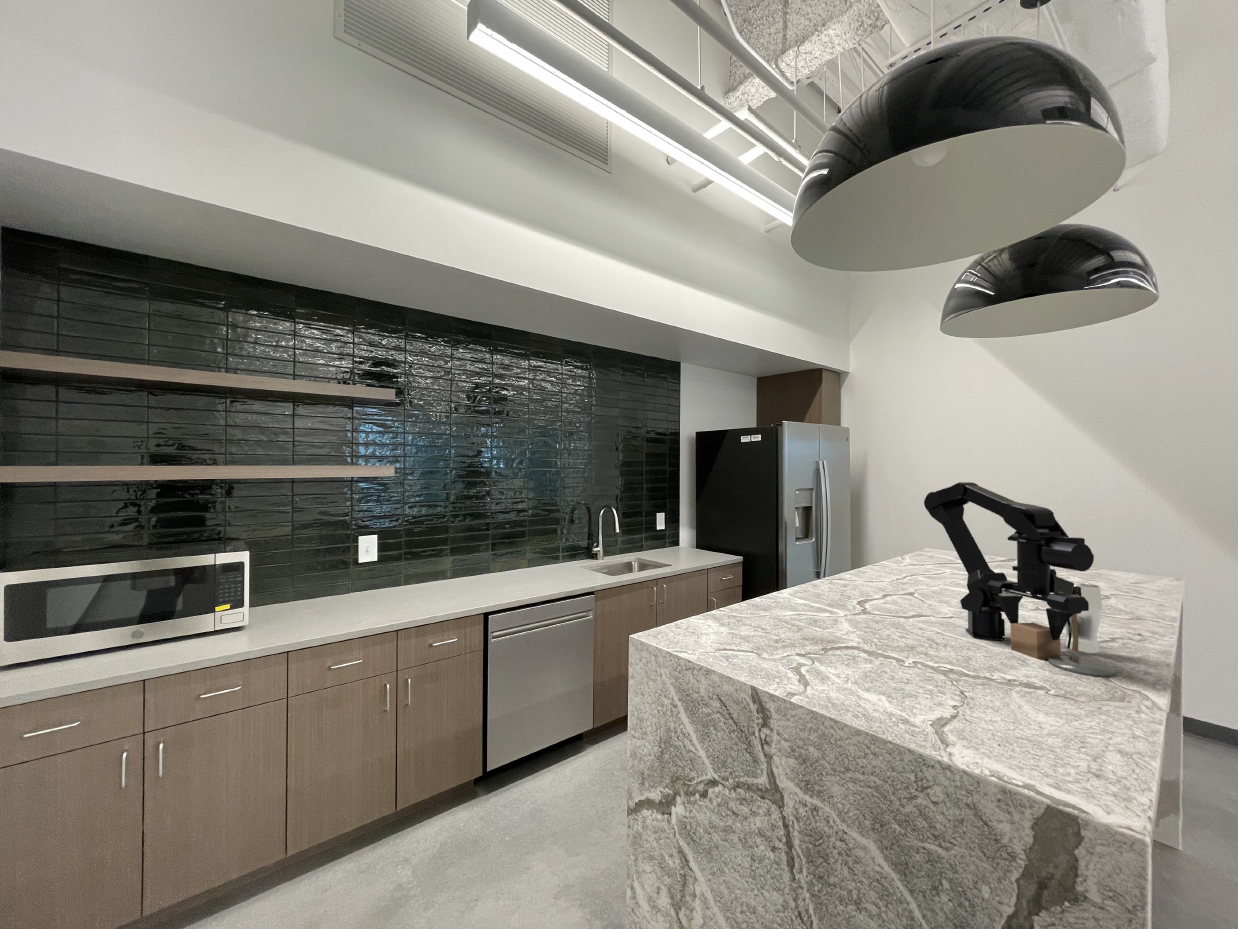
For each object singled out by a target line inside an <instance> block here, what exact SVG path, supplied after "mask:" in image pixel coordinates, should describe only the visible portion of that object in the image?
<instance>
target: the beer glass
mask: <svg viewBox="0 0 1238 929" xmlns="http://www.w3.org/2000/svg"><path fill="white" fill-rule="evenodd" d="M1071 582H1072V583H1074V587H1073V591H1072V594H1073V595H1078V596H1082V597H1085V598H1086V600H1087V601H1088V603H1089V611H1082V612H1081V613H1080V614H1074V615H1073V616H1071V617H1070V619H1069V620H1068V621H1067V623H1066V625H1065V627H1064V628H1065V638H1064V642H1063V648H1064V649H1065V650H1066V651H1069V652H1072V653H1076V654H1079V655H1080V654H1082V655H1087V656H1098V655H1100V654H1101V650H1100V647H1099V641H1098V632H1099V627H1100V623H1101V618H1102V611H1103V610H1102V609H1103V603H1102V601H1103V600H1102V593H1101V586H1100V585H1097V584H1094V583H1093V584H1092V583H1089V582H1088V583H1087V582H1080V581H1071Z"/></svg>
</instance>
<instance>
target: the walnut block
mask: <svg viewBox="0 0 1238 929" xmlns="http://www.w3.org/2000/svg"><path fill="white" fill-rule="evenodd" d="M1010 650H1011V651H1014V652H1017V653H1019V654H1022V655H1025V656H1028V657H1029V658H1030V657H1031V658H1033V659H1036V660H1041V659H1043V660H1044V659H1049V657H1052V656H1061V636H1060V637H1059V639H1058V640H1053V639H1052V636H1051V633H1050V628H1049V626H1047V625H1043V624H1039V623H1037V622H1018V623H1011V624H1010Z"/></svg>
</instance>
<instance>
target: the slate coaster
mask: <svg viewBox="0 0 1238 929" xmlns="http://www.w3.org/2000/svg"><path fill="white" fill-rule="evenodd" d="M1048 663H1049V664H1050V665H1052V666H1053V667H1055V668H1057V669H1061V670H1063V671H1066V672H1070V673H1074V674H1079V675H1084V676H1089V677H1096V678H1097V677H1098V678H1100V677H1101V678H1106V677H1107V678H1108V677H1114V676H1115V673H1116V672H1115V669H1114V668H1112V667H1110V666H1109V665H1106V664H1104V663H1101V662H1099V661H1093V660H1091V659H1087V658H1081V657H1076V656H1075V657H1074V656H1068V655H1066V656H1065V655H1060V656H1052V657H1049V658H1048Z"/></svg>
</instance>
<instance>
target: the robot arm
mask: <svg viewBox="0 0 1238 929" xmlns="http://www.w3.org/2000/svg"><path fill="white" fill-rule="evenodd" d="M969 503H972V504H974V505H976V506H978V507H981V508H982V509H984V510H987V511H988V512H991V513H993V514H995V515H998V516H999V517H1000V518H1002V520H1003V521H1004V522H1005V524H1006V525H1007V526H1008V527H1011V528H1012V529H1013V530H1015V531H1014V533H1013V534H1011V535H1009V536H1008V537H1007V540H1008V541H1011V542H1016V565H1012V571H1014V572H1016V573H1017V574H1016V576H1017V577H1016V578H1017V579H1016V580H1017V581H1014V580H1008V578H1007V576H1006V574H1005V572H995V571H994V570H993V569H992V568H990V566H989V563H988V562H987V560H986V558H985V556H984V555H983V552H982V551H981V549H980V547H979V546H978V543H977V542H976V539H975V538H974V536H973V534H972V532H971V531H970V529H969V527H968V525H967V524H966V522H965V520H964V515H965V507H964V506H966V505H967V504H969ZM923 505H924V507H925V509H926V511H927V512H928V514H929V515H930V516H931V518H933V519H934V520H935V521H937V522H938V523H939V524H941V525H942V527H943V528H944V530H945V532H946V534H947V536H948V538H949V540H950V542H951V544H952V545H953V546H952V547H954V548H953V549H954V550H955V551H956V554H957V556H958V558H959V559H960V561H961V563H962V566H963V567H964V569H965V571H966V573H967V582H966V587H967V590H968V592H967V594H965V595H964V596H963V597H962V598H961V599H960V601H959V603H960V605H961V608H962V610H965V611H967V628H965V631H966V633H968V635H970V636H971V637H973V638H976V639H984V640H996V641H1006V638H1005V637H1006V636H1005V635H1006V634H1005V633H1006V631H1005V629H1006V628H1005V626H1006V625H1005V624H1006V623H1005V622H1006V621H1005V619H1004V618H1003V613H1004V615H1005V616H1006V618H1007V620H1008V622H1009V624H1010V625H1011V623H1019V610H1020V607H1019V604H1020V603H1021V600H1022V599H1023V598H1024V597H1026V598H1030V599H1033V600H1039V601H1041V602H1046V604H1047V605H1048V607H1047V608H1045V612H1046V616H1047V617H1046V618H1047V623H1048V627H1049V628H1050V633H1051V636H1052V639H1053V640H1058V639H1059V637H1060V638H1061V635H1062V634H1063V631H1064V628H1065V625H1066V623H1067V621H1068V620H1069V619H1070V617H1071V616H1073V615H1074V614H1080V613H1081V612H1082V611H1089V603H1088V601H1087V600H1086V598H1085V597H1082V596H1078V595H1073V594H1072V591H1073V587H1074V583H1072V582H1073V581H1069V580H1067V579H1064V578H1062V577H1059V576H1057V571H1056V569H1055V568H1059V569H1063V570H1064V569H1066V570H1071V571H1078V572H1086V571H1088V570H1090V568H1091V567H1092V566H1093V563H1094V559H1095V554H1094V553H1093V551H1092V549H1091V548H1090V547H1089V546H1088V544H1085V543H1086V542H1085V541H1086V539H1085V538H1084V537H1069V535H1068V534H1067V532H1066V531H1065V530H1064V529H1063V527H1062V526H1061V525H1060V523H1059V522H1058V520H1057V519H1056V517H1055V515H1054V514H1055V513H1054V512H1053V511H1052V509H1049V508H1047V507H1044V506H1039V505H1035V504H1030V503H1022V502H1018V501H1015V500H1013V499H1010V498H1009V497H1006V496H1004V495H1001V494H999V493H996V492H994V491H992V490H990V489H988V488H985V487H982V486H981V485H978V484H977V483H975V482H971V481H969V482H967V481H966V482H965V481H964V482H963V481H961V482H957V483H955V484H952V485H951V486H948V487H945V488H941V489H939V490H936V491H930V492H929V493H927V495H926V497H925V498H924V501H923ZM1051 567H1053V568H1051Z"/></svg>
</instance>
